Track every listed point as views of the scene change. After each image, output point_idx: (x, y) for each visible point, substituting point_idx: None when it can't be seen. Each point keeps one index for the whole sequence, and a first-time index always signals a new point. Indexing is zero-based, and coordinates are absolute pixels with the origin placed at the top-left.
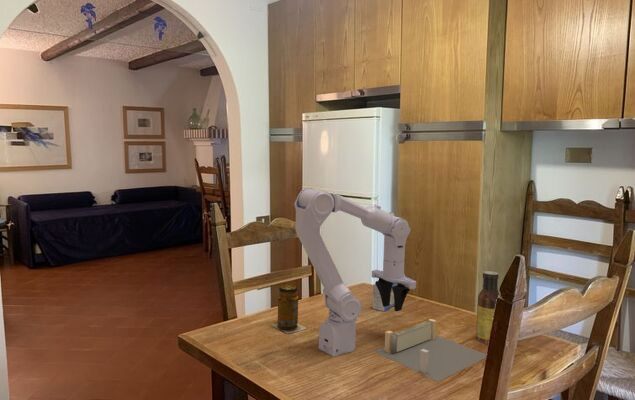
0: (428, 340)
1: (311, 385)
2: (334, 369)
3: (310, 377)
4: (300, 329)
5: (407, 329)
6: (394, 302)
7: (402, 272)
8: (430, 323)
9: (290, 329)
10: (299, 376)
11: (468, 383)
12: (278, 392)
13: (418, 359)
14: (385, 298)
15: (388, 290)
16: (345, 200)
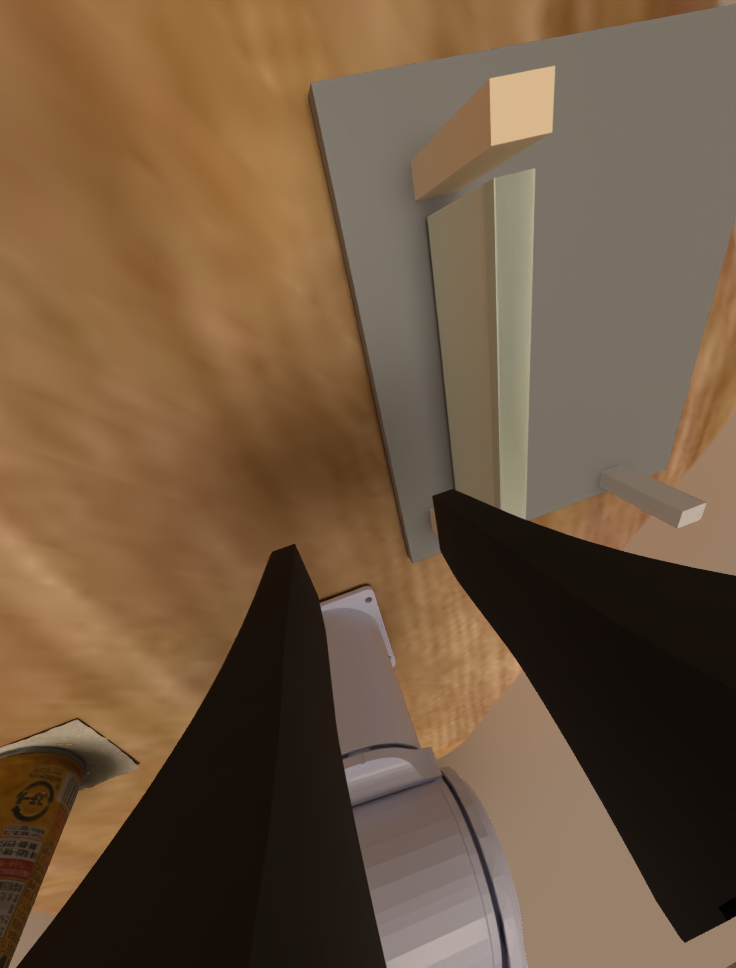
0: None
1: (466, 706)
2: (433, 666)
3: (437, 707)
4: (89, 737)
5: (507, 460)
6: (494, 626)
7: None
8: (534, 190)
9: (84, 762)
10: (422, 723)
11: (723, 365)
12: (455, 745)
13: (552, 442)
14: (319, 661)
15: (309, 743)
16: None
